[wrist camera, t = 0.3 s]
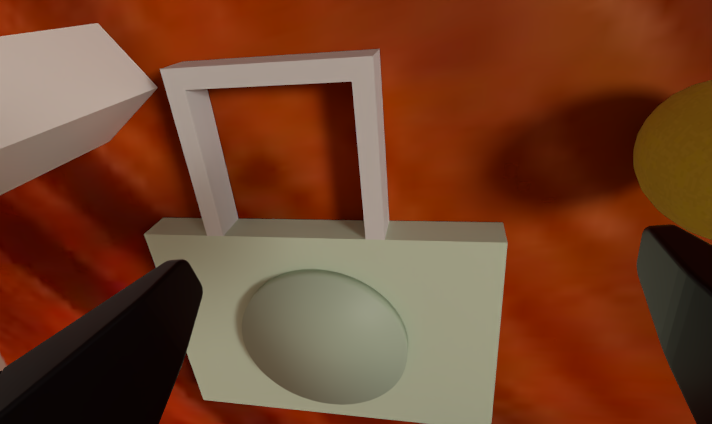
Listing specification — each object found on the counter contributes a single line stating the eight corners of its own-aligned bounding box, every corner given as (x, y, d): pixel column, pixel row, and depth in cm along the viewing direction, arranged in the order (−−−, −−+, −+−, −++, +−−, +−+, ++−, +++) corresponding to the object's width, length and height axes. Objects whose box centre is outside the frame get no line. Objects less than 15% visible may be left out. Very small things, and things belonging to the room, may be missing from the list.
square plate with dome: (488, 403, 29) (491, 441, 27) (216, 377, 33) (198, 409, 31) (517, 39, 19) (528, 49, 16) (113, 66, 23) (73, 77, 20)
